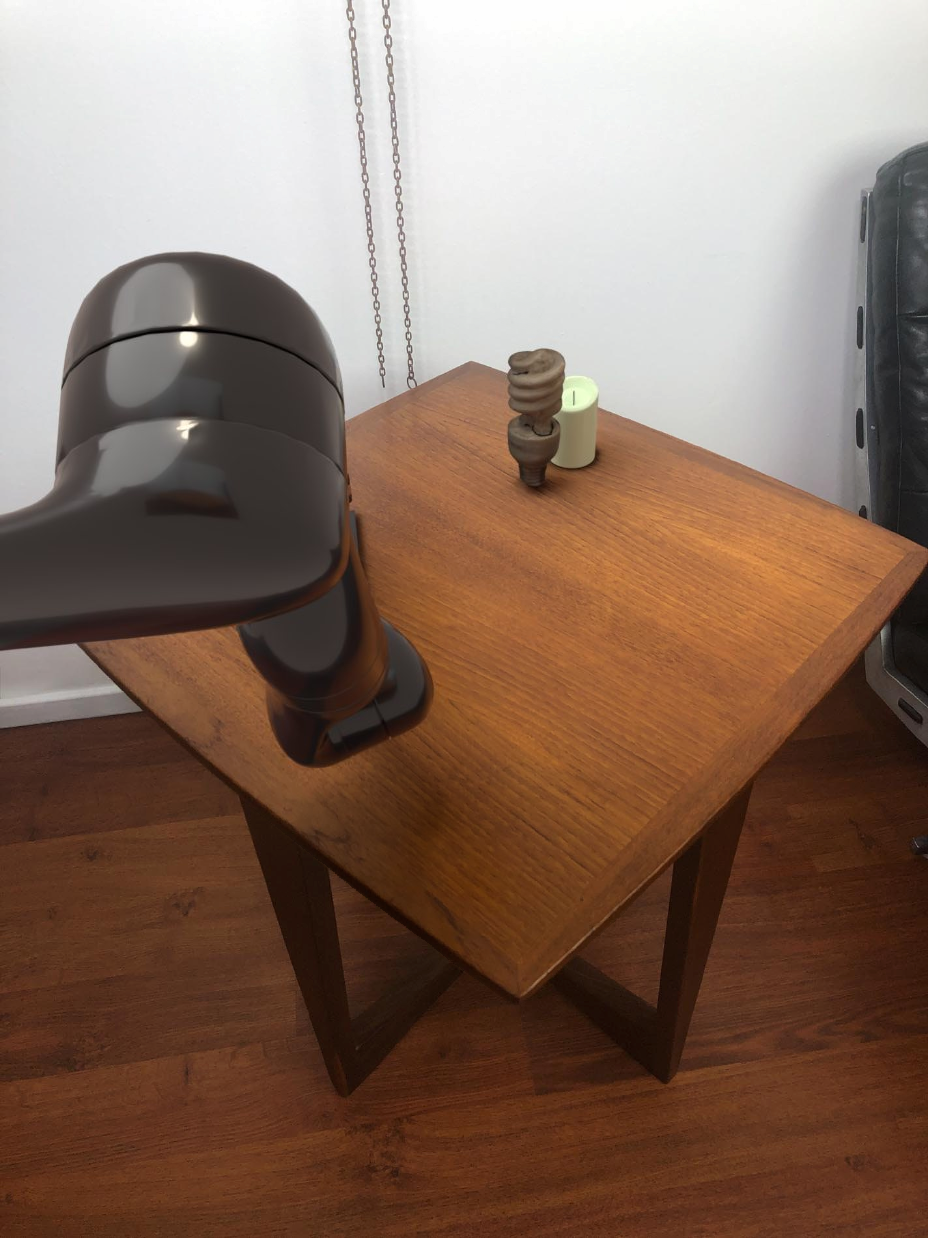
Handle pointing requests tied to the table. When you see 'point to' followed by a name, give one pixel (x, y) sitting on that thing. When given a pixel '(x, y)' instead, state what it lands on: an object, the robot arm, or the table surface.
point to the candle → (577, 423)
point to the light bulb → (535, 410)
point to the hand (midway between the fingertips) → (247, 449)
